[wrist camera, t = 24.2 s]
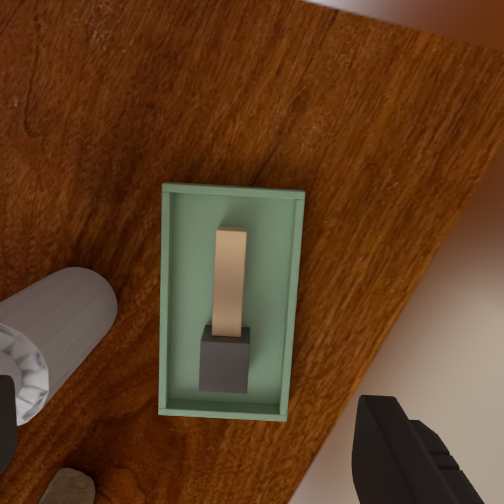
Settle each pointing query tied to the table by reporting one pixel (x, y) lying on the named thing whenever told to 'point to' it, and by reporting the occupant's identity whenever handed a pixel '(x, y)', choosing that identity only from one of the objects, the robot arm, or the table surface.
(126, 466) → the table surface
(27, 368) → the bottle
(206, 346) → the brush
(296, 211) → the tray
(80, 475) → the stone
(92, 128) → the table surface
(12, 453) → the robot arm
